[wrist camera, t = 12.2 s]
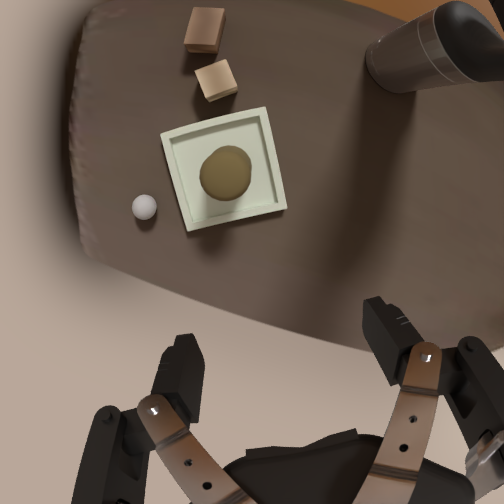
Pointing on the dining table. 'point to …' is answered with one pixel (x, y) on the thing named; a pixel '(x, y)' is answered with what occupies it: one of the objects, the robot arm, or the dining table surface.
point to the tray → (203, 145)
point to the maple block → (216, 80)
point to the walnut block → (205, 30)
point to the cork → (226, 173)
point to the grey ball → (144, 207)
